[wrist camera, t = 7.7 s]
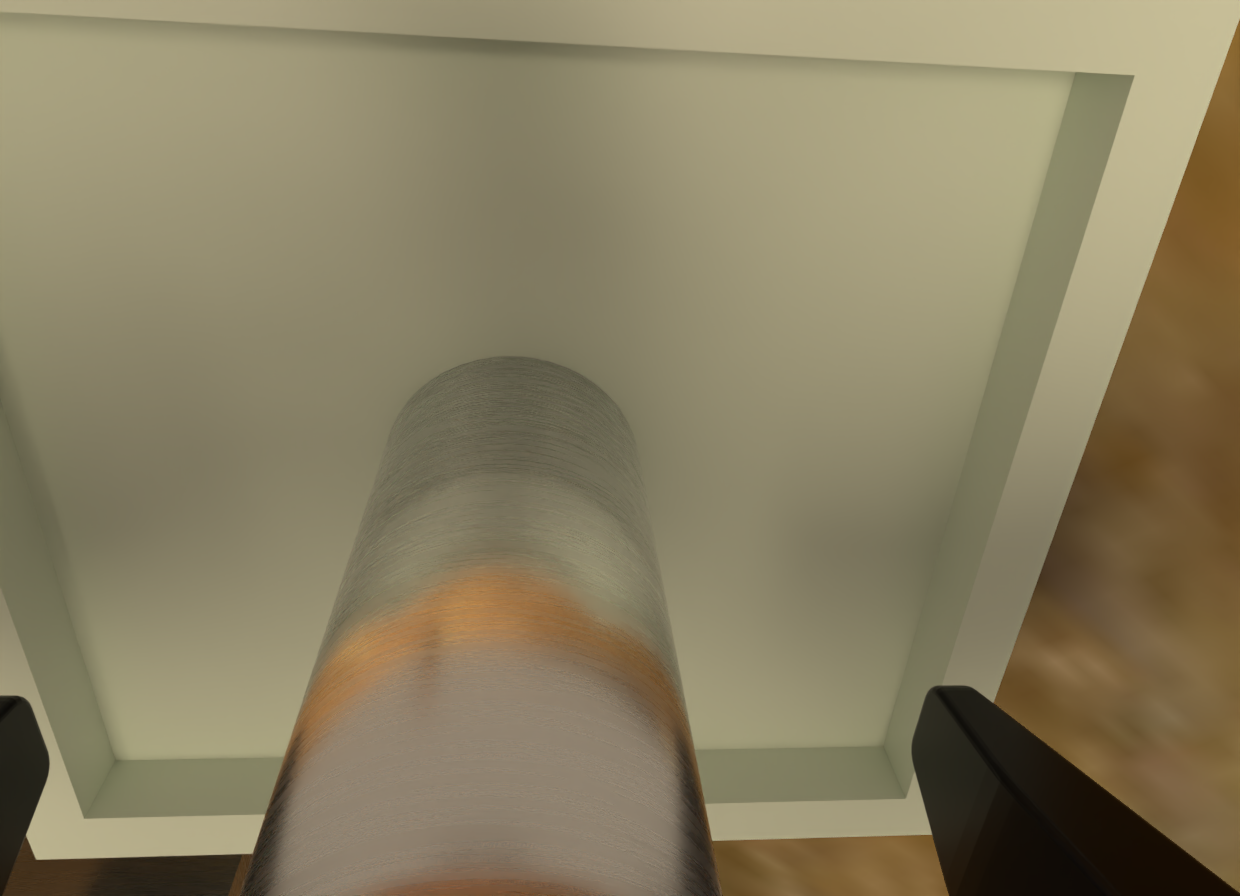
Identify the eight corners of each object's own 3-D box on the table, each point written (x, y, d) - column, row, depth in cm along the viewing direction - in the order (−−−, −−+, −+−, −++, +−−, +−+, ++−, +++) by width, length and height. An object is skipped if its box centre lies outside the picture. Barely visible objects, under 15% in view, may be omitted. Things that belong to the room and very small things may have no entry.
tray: (1152, -23, 11) (1253, -20, 9) (910, 757, 18) (946, 834, 16) (-223, -115, 10) (-374, -130, 8) (85, 773, 16) (36, 859, 15)
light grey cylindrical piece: (693, 320, 12) (1016, 1094, 4) (664, 602, 15) (821, 1447, 6) (325, 310, 12) (-207, 1163, 3) (358, 603, 14) (93, 1519, 6)
